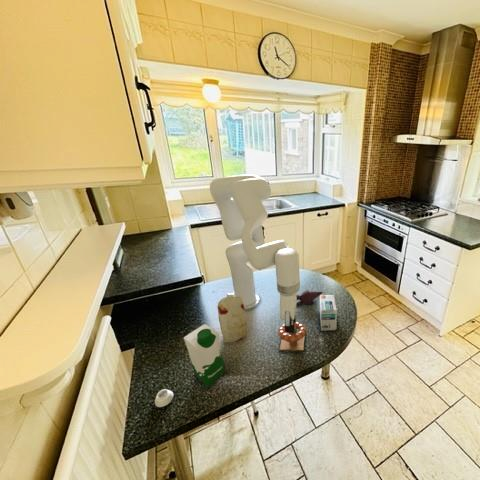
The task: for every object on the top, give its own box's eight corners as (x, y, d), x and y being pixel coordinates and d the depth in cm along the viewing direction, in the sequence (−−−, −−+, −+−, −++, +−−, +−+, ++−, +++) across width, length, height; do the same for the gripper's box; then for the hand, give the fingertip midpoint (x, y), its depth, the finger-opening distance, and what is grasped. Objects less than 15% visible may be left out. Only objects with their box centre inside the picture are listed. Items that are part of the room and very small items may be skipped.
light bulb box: (336, 330, 107) (337, 310, 103) (320, 331, 107) (320, 310, 102) (333, 313, 117) (334, 294, 112) (319, 313, 117) (319, 294, 112)
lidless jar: (154, 397, 81) (156, 411, 77) (152, 391, 79) (153, 404, 76) (172, 389, 83) (174, 402, 79) (170, 383, 82) (172, 395, 78)
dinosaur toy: (318, 283, 128) (290, 293, 122) (324, 288, 121) (294, 298, 116) (320, 296, 129) (292, 306, 124) (326, 301, 122) (297, 312, 117)
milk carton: (207, 391, 83) (195, 346, 74) (191, 376, 87) (178, 332, 79) (229, 371, 89) (221, 328, 81) (214, 359, 94) (204, 316, 86)
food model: (224, 349, 98) (216, 307, 90) (222, 337, 104) (214, 297, 95) (250, 340, 102) (244, 300, 94) (246, 329, 108) (241, 290, 99)
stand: (279, 352, 97) (278, 330, 92) (283, 334, 105) (281, 313, 101) (303, 352, 97) (303, 330, 92) (305, 334, 105) (304, 313, 101)
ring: (276, 343, 93) (276, 337, 93) (280, 325, 103) (280, 320, 103) (305, 343, 93) (305, 337, 93) (306, 325, 103) (306, 320, 103)
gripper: (280, 271, 92) (283, 311, 100) (272, 300, 77) (276, 345, 85) (301, 271, 92) (302, 311, 100) (297, 301, 77) (299, 345, 85)
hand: (290, 326), depth 92 cm, fingers open, 4 cm apart
